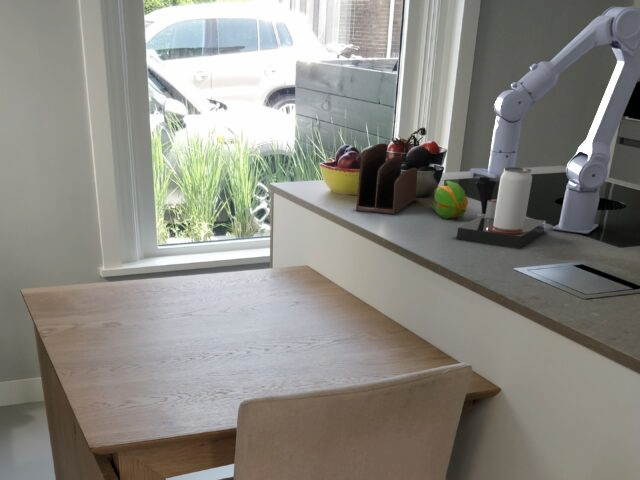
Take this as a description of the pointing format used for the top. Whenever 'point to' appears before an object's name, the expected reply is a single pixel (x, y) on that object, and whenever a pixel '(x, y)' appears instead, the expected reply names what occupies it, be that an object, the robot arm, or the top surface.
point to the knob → (491, 208)
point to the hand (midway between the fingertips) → (494, 214)
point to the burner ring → (491, 228)
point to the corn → (450, 200)
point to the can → (512, 199)
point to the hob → (481, 234)
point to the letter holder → (384, 182)
